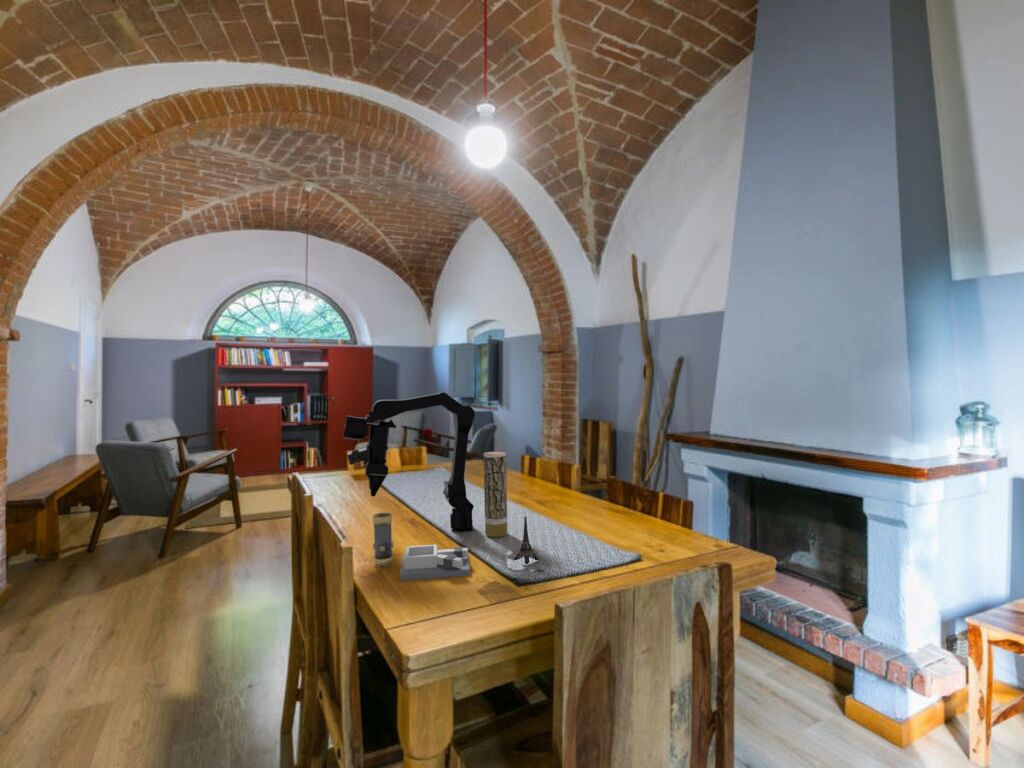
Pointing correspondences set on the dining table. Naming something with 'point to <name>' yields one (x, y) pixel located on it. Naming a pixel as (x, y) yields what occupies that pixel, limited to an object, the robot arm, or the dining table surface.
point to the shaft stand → (433, 563)
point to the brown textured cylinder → (495, 494)
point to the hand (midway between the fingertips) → (372, 492)
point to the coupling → (383, 539)
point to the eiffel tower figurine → (524, 549)
